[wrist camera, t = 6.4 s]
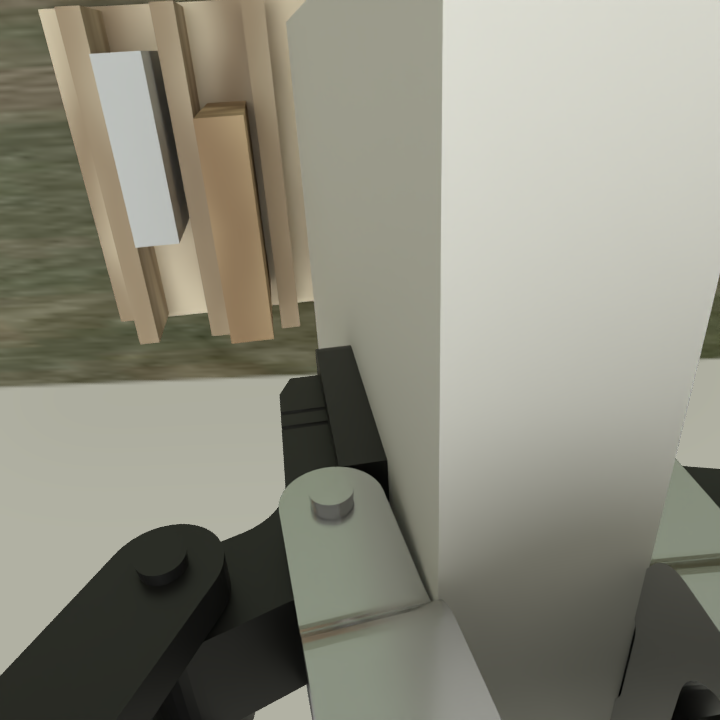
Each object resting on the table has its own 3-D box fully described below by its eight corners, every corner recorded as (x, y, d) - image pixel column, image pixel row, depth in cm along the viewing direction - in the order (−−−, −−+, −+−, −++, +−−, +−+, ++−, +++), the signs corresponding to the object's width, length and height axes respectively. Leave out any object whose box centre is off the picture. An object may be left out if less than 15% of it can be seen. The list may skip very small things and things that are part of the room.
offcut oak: (246, 100, 31) (243, 115, 24) (270, 282, 35) (273, 338, 28) (207, 103, 31) (192, 118, 24) (236, 285, 35) (231, 343, 28)
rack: (370, -6, 30) (391, -16, 26) (382, 286, 38) (399, 318, 33) (46, 11, 29) (6, 3, 24) (125, 313, 36) (106, 351, 32)
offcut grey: (161, 51, 29) (140, 50, 24) (191, 212, 33) (179, 243, 28) (119, 53, 29) (88, 53, 24) (154, 216, 33) (135, 247, 27)
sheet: (349, 18, 19) (823, -161, 3) (369, 374, 25) (561, 930, 9) (285, 22, 19) (444, -151, 3) (321, 380, 25) (435, 961, 9)
